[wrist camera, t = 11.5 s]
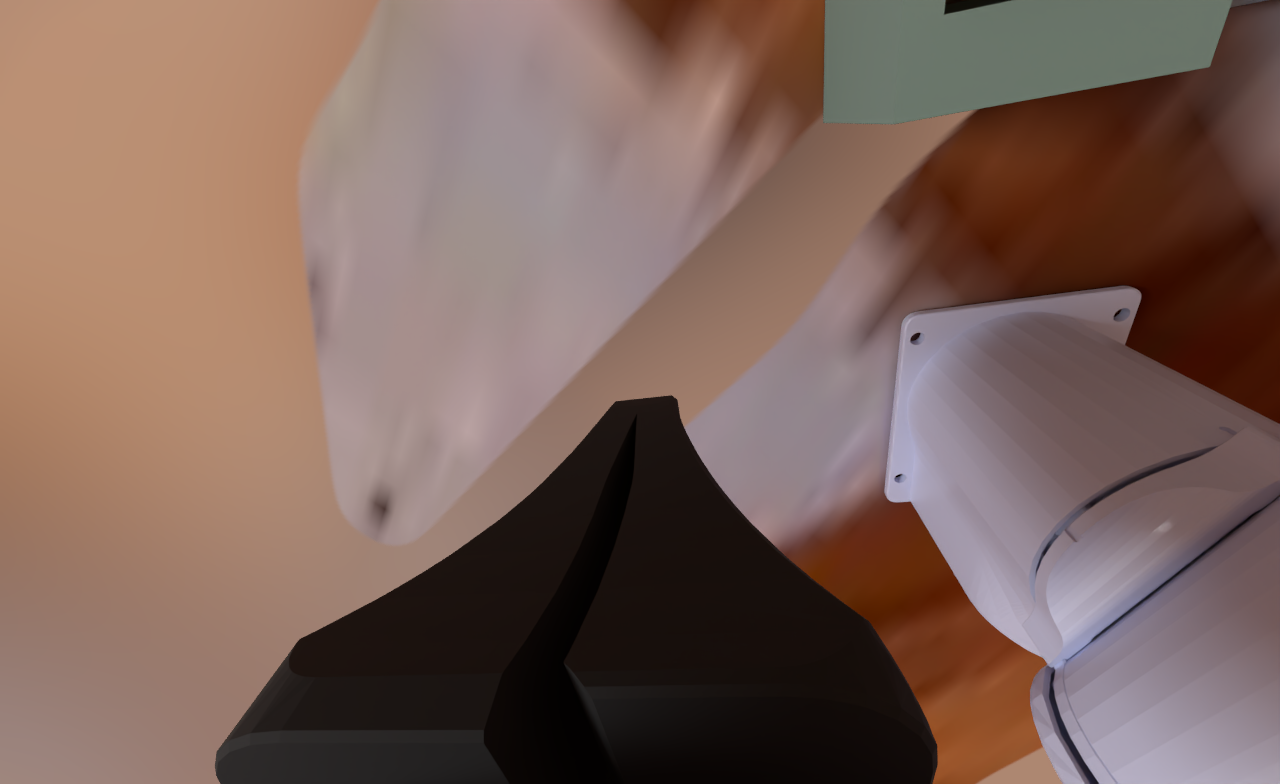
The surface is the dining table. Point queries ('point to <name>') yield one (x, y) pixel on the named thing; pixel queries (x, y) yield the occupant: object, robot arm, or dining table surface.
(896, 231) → the dining table surface
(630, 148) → the dining table surface
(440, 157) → the dining table surface
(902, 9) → the cabinet
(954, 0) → the button
